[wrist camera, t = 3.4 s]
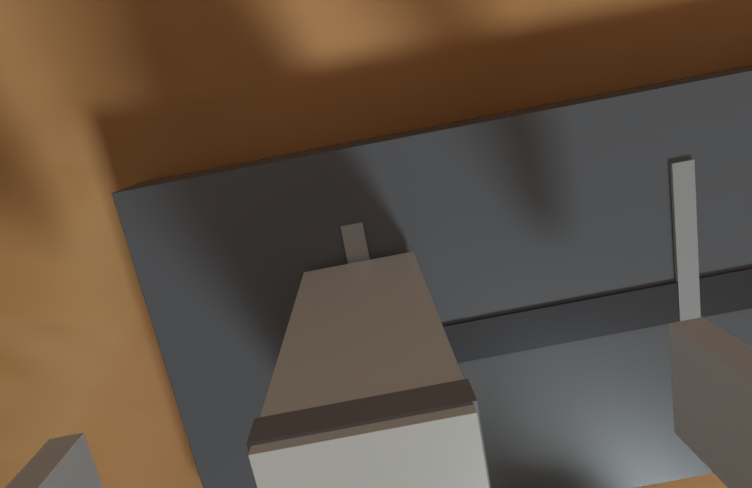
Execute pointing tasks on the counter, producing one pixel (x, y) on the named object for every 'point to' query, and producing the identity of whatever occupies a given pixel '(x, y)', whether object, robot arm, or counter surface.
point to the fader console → (477, 270)
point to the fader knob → (367, 389)
